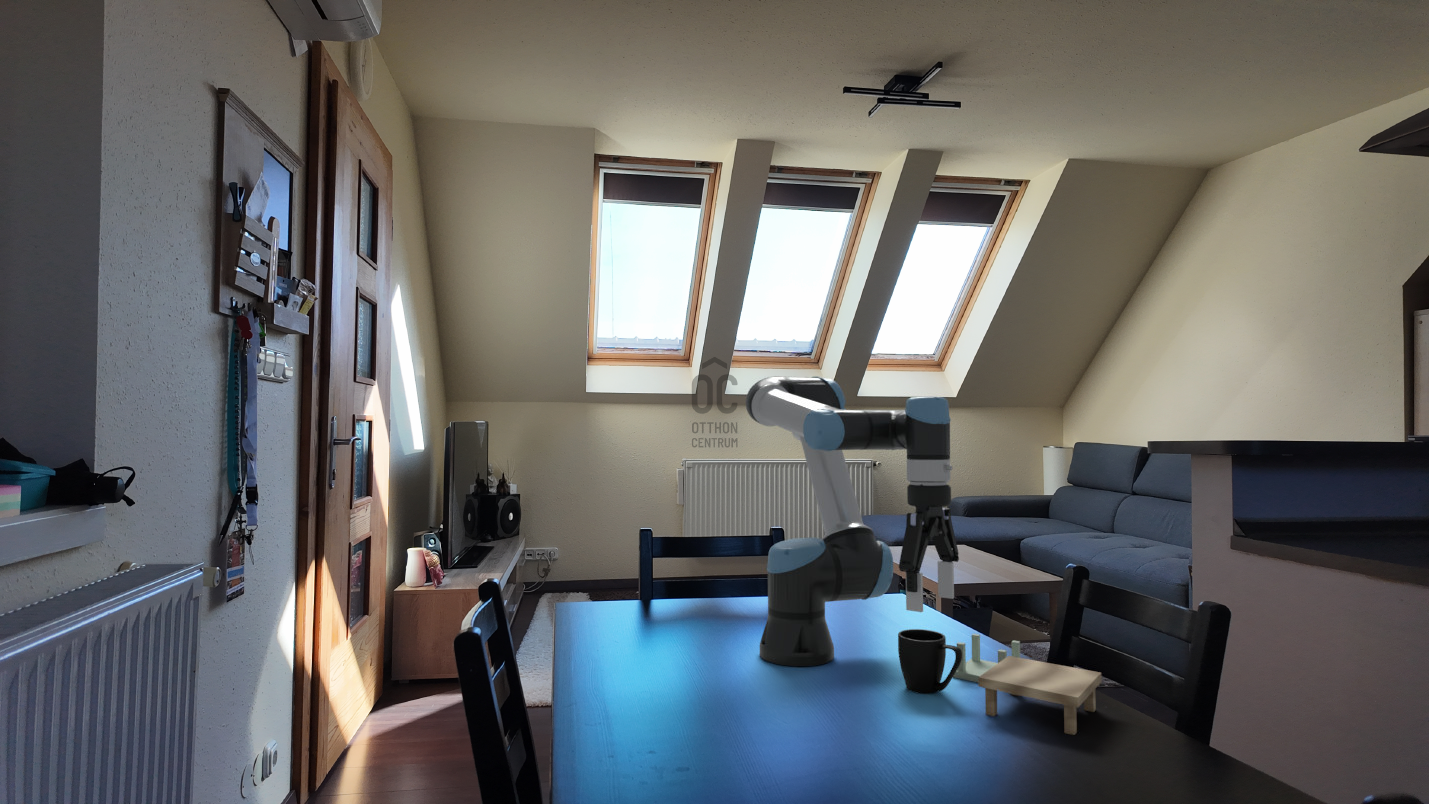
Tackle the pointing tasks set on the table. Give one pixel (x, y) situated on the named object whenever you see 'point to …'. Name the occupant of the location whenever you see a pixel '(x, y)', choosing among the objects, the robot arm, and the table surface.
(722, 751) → the table surface
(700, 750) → the table surface
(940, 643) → the mug
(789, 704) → the table surface
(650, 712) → the table surface
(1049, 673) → the oak stool
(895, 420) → the robot arm
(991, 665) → the upturned footstool
